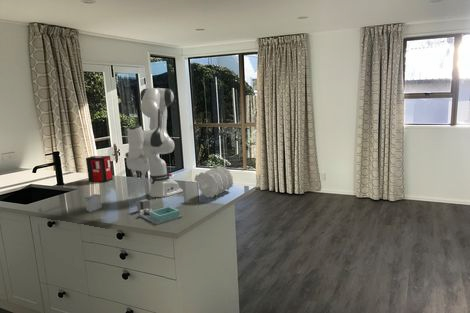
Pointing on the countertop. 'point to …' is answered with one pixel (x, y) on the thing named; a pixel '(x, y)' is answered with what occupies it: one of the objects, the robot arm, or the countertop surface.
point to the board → (155, 219)
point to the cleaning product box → (99, 168)
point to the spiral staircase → (214, 181)
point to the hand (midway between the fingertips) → (139, 178)
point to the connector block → (143, 205)
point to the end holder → (157, 214)
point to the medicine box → (93, 202)
